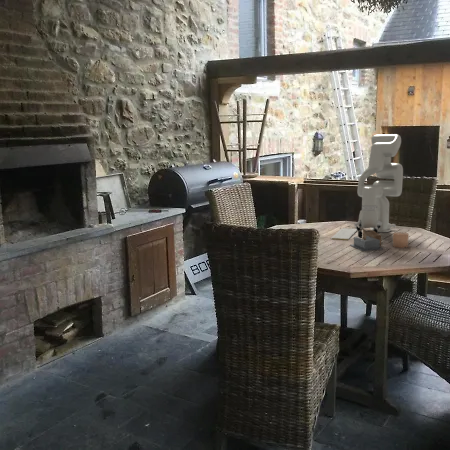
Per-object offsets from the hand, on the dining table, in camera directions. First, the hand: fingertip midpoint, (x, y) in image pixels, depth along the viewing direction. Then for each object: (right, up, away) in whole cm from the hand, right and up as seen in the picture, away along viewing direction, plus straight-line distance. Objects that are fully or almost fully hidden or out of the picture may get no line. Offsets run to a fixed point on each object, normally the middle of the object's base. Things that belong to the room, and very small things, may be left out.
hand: (367, 237), depth 300 cm
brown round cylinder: (+14, -5, -15) cm, 21 cm away
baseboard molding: (-10, +1, +18) cm, 21 cm away
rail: (+1, -3, -3) cm, 4 cm away
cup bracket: (-6, -5, -16) cm, 18 cm away
